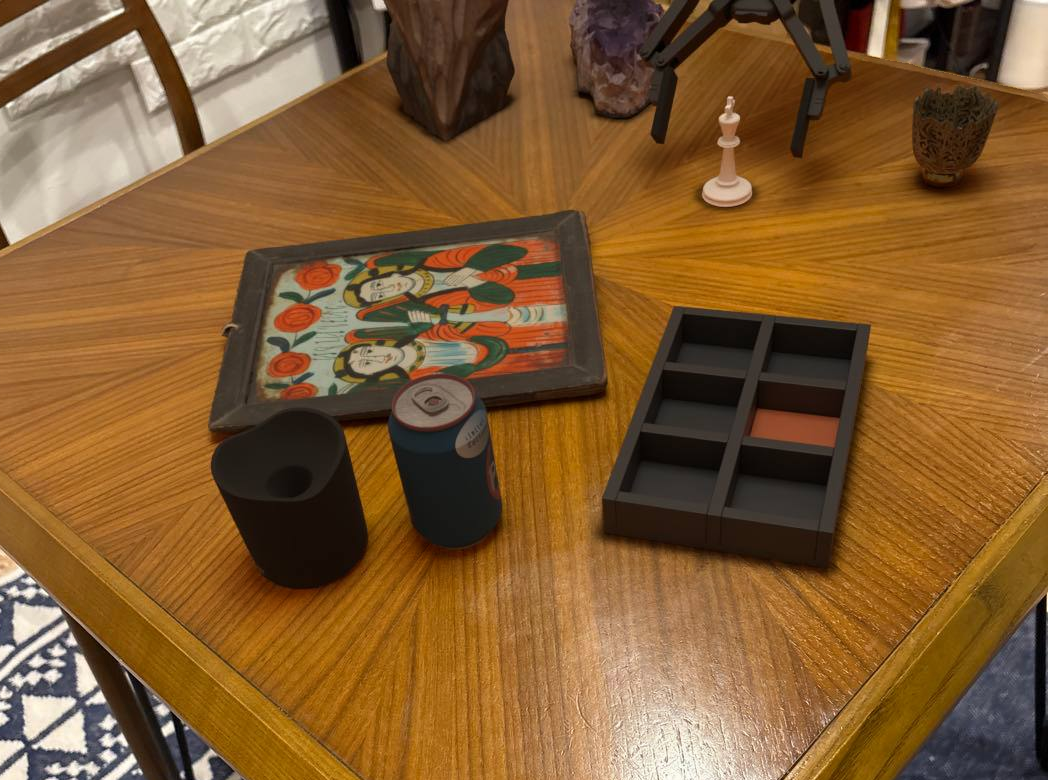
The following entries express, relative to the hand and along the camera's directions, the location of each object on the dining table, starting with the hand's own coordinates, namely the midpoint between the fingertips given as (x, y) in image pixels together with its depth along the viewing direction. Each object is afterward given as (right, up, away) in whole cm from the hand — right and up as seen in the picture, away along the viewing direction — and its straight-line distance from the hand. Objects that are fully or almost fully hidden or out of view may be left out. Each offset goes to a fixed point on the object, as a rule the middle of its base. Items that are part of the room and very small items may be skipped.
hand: (724, 146), depth 106 cm
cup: (+22, -3, +2) cm, 22 cm away
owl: (-27, +12, +24) cm, 38 cm away
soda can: (-25, -37, -23) cm, 50 cm away
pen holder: (-36, -39, -23) cm, 57 cm away
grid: (-3, -30, -20) cm, 36 cm away
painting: (-30, -18, -4) cm, 35 cm away
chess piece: (+1, -3, +5) cm, 6 cm away
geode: (-7, +17, +25) cm, 31 cm away
